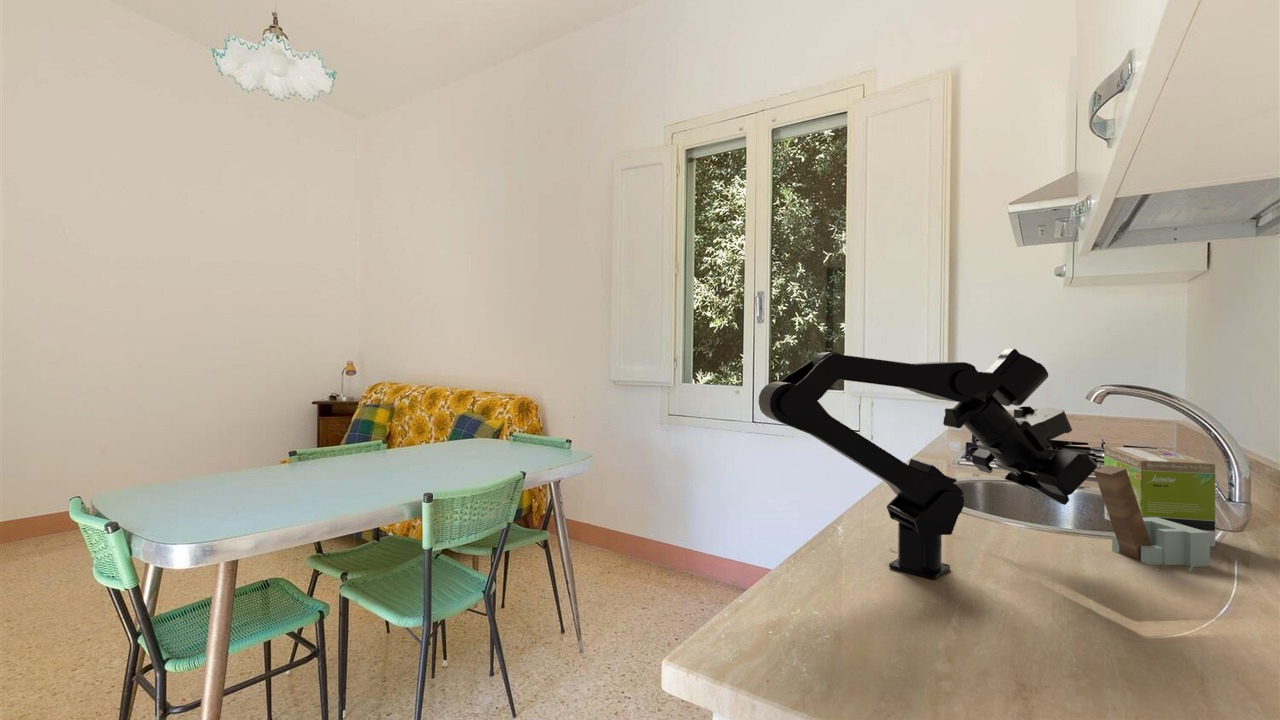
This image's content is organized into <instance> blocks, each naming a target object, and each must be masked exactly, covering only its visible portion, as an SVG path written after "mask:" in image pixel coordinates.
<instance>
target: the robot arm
mask: <svg viewBox="0 0 1280 720" xmlns="http://www.w3.org/2000/svg"><path fill="white" fill-rule="evenodd" d="M1048 378H1049V372H1048V370H1047V368H1045V366H1044V365H1043V364H1042V363H1040V362H1037V361H1036V360H1034V359H1033V358H1031V357H1029V356H1028V355H1025V354H1022V353H1020V352H1019V351H1018V350H1017V349H1016V348H1005V349H1004V350H1003V351H1002V352H1001V353H1000V354H999V356H998V357H997V359H996V360H994V362H993V363H992V364H991V365H990V366H989V367H988V368H987V369H986V370H985V371H978V369H977V368H976V366H975V365H973V364H971V363H969V362H962V361H955V362H954V361H936V362H935V361H933V362H931V361H930V362H929V361H928V362H917V363H908V362H902V361H893V360H885V359H884V360H883V359H876V358H869V357H862V356H854V355H846V354H841V353H839V352H836V351H834V352H833V351H831V352H826V351H825V352H820V353H818V354H816V355H815V356H813V358H811V359H810V360H809V361H808V362H806V363H805V364H803V365H802V366H800V367H799V368H797V369H795V370H794V371H793V372H791V373H789V374H787V375H786V376H785V377H783V378H782V379H781V380H780V381H777V380H776V381H773V382H769V383H768V384H766V385H765V386H764V387H763V388H762V389H761V390H760V393H759V395H758V405H759V410H760V411H761V413H762V414H763V415H764V416H766V417H767V418H769V419H771V420H773V421H776V422H778V423H781V424H783V425H786V426H788V427H791V428H793V429H796V430H798V431H801V432H803V433H805V434H809V435H810V436H811V437H814V438H815V439H817V440H818V441H819V442H821V443H823V444H825V445H826V446H828V447H829V448H831V449H833V450H834V451H836V452H837V453H838V454H840V455H842V456H844V457H845V458H847V459H848V460H850V461H851V462H853V463H855V464H856V465H858V466H859V467H861V468H863V469H864V470H866V471H868V473H871V474H872V475H874V476H875V477H877V478H879V480H880V479H881V480H882V481H884V482H885V483H886V484H887V485H888V486H889V487H890V489H891V490H892V491H893V493H894V494H895V495H896V496H895V497H894V498H893V499H892V500H891V501H890V502H889V503H888V504H887V505H886V509H887V513H888V515H889V518H890V519H891V520H893V521H896V522H898V524H897V525H898V526H897V527H898V529H897V533H898V534H897V535H898V537H897V539H898V541H897V544H898V545H897V555H898V556H897V558H896V559H894V560H892V561H891V562H890V563H888V567H889V568H890V569H894V570H898V571H902V572H905V573H909V574H913V575H917V576H920V577H925V578H927V579H928V578H929V579H934V580H935V579H938V578H939V577H940V576H942V575H943V574H944V573H946V572H947V571H949V570H950V569H951V565H950V564H948V563H943V562H942V536H951V535H952V534H953V531H954V530H955V529H954V528H955V527H956V526H955V525H956V524H957V520H958V517H959V515H960V514H961V513H962V511H963V509H964V503H965V497H964V492H963V490H962V489H961V488H960V487H959V486H958V485H957V484H955V483H956V482H957V481H958V479H956V478H954V477H951V476H948V475H945V474H944V473H943V472H942V471H941V470H940V469H939V468H937V467H936V466H934V464H930V463H928V462H927V463H926V462H923V461H920V460H918V459H914V458H913V457H912V458H910V460H909V463H908V464H907V463H905V462H904V461H902V460H901V459H899V458H897V456H894V455H893V454H892V453H890V452H888V451H886V450H885V449H883V448H882V447H880V446H878V445H877V444H876V443H874V442H872V441H870V440H869V439H867V438H866V437H864V436H863V435H862V434H860V433H858V432H857V431H855V430H853V428H850V427H849V426H848V425H845V424H844V423H842V422H841V421H839V420H838V419H836V418H834V417H833V416H831V415H830V414H829V413H828V411H827V410H826V409H825V408H824V406H823V405H822V403H820V402H819V400H821V398H823V397H824V395H826V393H827V392H828V391H829V389H831V387H832V386H833V385H834V384H835V383H836V382H837V381H840V380H841V381H847V382H848V381H849V382H856V383H863V384H871V385H872V384H873V385H877V386H878V385H879V386H887V387H888V386H889V387H895V388H900V389H901V388H902V389H905V390H908V391H910V392H912V393H913V392H914V393H916V394H918V395H921V396H925V397H927V398H931V399H934V400H939V401H947V402H948V401H949V402H956V403H957V404H956V405H955V406H954V407H953V408H949V407H948V408H947V407H946V408H944V413H945V414H944V416H943V426H945V427H949V428H953V429H954V428H955V429H961V428H962V427H963V426H964V427H965V428H967V430H969V432H970V433H971V434H972V435H973V436H974V437H975V438H976V439H977V440H978V441H977V442H976V444H975V445H976V446H977V448H978V449H976V451H974V453H973V454H971V455H972V459H971V462H972V464H973V465H974V466H975V467H976V468H977V469H978V471H980V472H983V473H987V474H991V473H992V472H993V471H994V469H993V467H992V466H991V465H990V464H991V463H992V462H993V461H994V460H995V461H994V463H993V464H994V465H996V467H997V468H999V469H1000V470H1003V471H1005V472H1006V473H1007V475H1005V480H1006V481H1008V482H1010V483H1013V484H1016V485H1017V486H1020V487H1023V488H1025V489H1027V490H1029V491H1031V492H1033V493H1036V494H1038V495H1040V496H1042V497H1045V498H1048V499H1049V500H1052V501H1053V502H1056V503H1058V504H1061V505H1063V506H1066V505H1067V504H1068V502H1070V498H1069V496H1071V495H1072V494H1073V493H1074V492H1075V491H1076V490H1078V488H1079V487H1080V486H1081V485H1082V484H1083V483H1084V482H1085V480H1087V478H1089V477H1090V476H1091V475H1092V474H1093V473H1094V470H1097V469H1098V464H1097V462H1096V461H1095V460H1094V459H1093V458H1092V457H1091V456H1090V455H1089V454H1088V453H1086V452H1080V451H1074V450H1070V449H1058V450H1056V452H1053V451H1049V449H1050V448H1051V447H1052V446H1053V444H1052V443H1051V442H1050V441H1051V440H1053V439H1056V438H1058V437H1060V436H1062V435H1063V434H1069V433H1071V432H1072V431H1073V428H1072V426H1071V423H1070V422H1069V419H1068V417H1067V414H1066V412H1065V410H1064V409H1059V408H1052V407H1051V408H1050V407H1041V408H1038V407H1036V408H1033V407H1032V406H1029V405H1023V404H1024V403H1025V402H1026V400H1028V399H1029V397H1031V396H1032V395H1033V394H1034V392H1035V391H1036V390H1038V389H1039V387H1041V385H1042V384H1043V383H1044V382H1045V381H1047V379H1048ZM1004 406H1005V407H1010V406H1017V407H1015V408H1013V415H1012V414H1011V413H1010V412H1009V411H1008V410H1007V409H1006V408H1005V407H1004Z"/></svg>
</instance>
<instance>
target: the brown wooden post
mask: <svg viewBox="0 0 1280 720" xmlns="http://www.w3.org/2000/svg"><path fill="white" fill-rule="evenodd" d="M1093 473H1094V476H1095V479H1096V482H1097V485H1098V488H1099V491H1100V494H1101V497H1102V499H1103V500H1102V501H1103V502H1104V507H1105V506H1106V509H1107V512H1108V515H1109V518H1110V520H1109V522H1110V524H1111V526H1112V529H1113V532H1114V536H1116V538H1117V541H1118V544H1119V547H1120V550H1121V553H1122V554H1121V555H1123V556H1126V557H1128V558H1131V559H1134V560H1135V561H1139V562H1141V546H1152V544H1151V541H1150V538H1149V535H1148V532H1147V529H1146V526H1145V523H1144V520H1143V517H1142V515H1141V512H1140V509H1139V506H1138V503H1137V500H1136V497H1135V494H1134V491H1133V488H1132V485H1131V482H1130V479H1129V476H1128V473H1127V470H1126V469H1125V468H1120V467H1115V466H1111V465H1107V466H1102V467H1099V468H1096V469H1095V470H1094V471H1093Z"/></svg>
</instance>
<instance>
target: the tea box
mask: <svg viewBox="0 0 1280 720" xmlns="http://www.w3.org/2000/svg"><path fill="white" fill-rule="evenodd" d="M1103 453H1104V455H1103V459H1104V460H1103V462H1104V466H1107V465H1111V466H1115V467H1120V468H1125V469H1126V470H1127V473H1128V476H1129V479H1130V482H1131V485H1132V488H1133V491H1134V494H1135V497H1136V500H1137V503H1138V506H1139V509H1140V512H1141V515H1142V517H1158V518H1161V519H1165V520H1168V521H1172V522H1175V523H1179V524H1182V525H1185V526H1189V527H1192V528H1196V529H1199V530H1203V531H1206V532H1210V547H1216V464H1215V463H1212V462H1209V461H1207V460H1203V459H1200V458H1197V457H1193V456H1190V455H1187V454H1184V453H1180V452H1177V451H1173V450H1171V449H1167V448H1166V449H1165V448H1150V447H1148V448H1147V447H1146V448H1145V447H1117V446H1116V447H1115V446H1109V447H1108V446H1104V451H1103ZM1104 466H1103V467H1104ZM1104 520H1109V521H1110V518H1109V515H1108V512H1107V509H1106V506H1105V505H1104Z"/></svg>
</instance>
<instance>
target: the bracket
mask: <svg viewBox="0 0 1280 720" xmlns="http://www.w3.org/2000/svg"><path fill="white" fill-rule="evenodd" d="M1143 520H1144V523H1145V526H1146V529H1147V532H1148V535H1149V538H1150V541H1151V544H1152V546H1141V561H1140V563H1143V564H1145V565H1149V566H1155V565H1164V566H1183V565H1185V566H1188V567H1193V568H1195V567H1198V568H1199V567H1211V546H1210V532H1206V531H1203V530H1199V529H1196V528H1192V527H1189V526H1185V525H1182V524H1179V523H1175V522H1172V521H1168V520H1165V519H1161V518H1158V517H1143ZM1111 537H1112V538H1111V539H1112V540H1111V541H1112V542H1111V543H1112V544H1111V545H1112V546H1111V550H1112V552H1113V553H1116V554H1121V555H1123V554H1122V553H1121V550H1120V547H1119V544H1118V541H1117V538H1116V535H1112V536H1111Z"/></svg>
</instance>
